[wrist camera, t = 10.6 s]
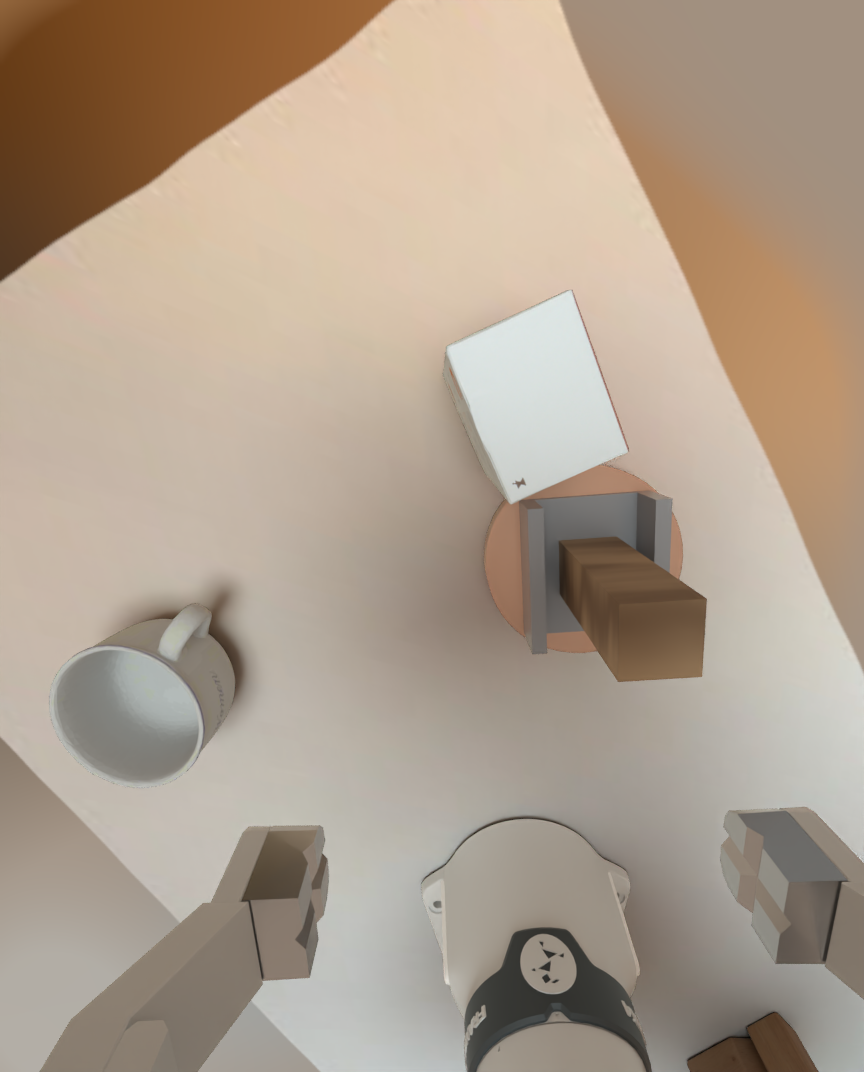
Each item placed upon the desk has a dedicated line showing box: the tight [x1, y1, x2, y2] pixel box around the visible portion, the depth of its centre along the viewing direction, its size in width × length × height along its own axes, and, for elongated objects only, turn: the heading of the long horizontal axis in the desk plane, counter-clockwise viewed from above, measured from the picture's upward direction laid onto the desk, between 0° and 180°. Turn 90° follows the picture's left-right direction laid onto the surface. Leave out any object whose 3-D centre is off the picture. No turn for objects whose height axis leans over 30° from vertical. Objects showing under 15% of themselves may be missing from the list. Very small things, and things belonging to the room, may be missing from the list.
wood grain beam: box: [559, 536, 707, 682], centre depth 29 cm, size 4×4×12 cm
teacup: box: [49, 603, 235, 788], centre depth 37 cm, size 14×11×8 cm
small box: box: [443, 290, 629, 504], centre depth 29 cm, size 8×6×13 cm
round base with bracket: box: [484, 465, 683, 654], centre depth 35 cm, size 14×14×6 cm
